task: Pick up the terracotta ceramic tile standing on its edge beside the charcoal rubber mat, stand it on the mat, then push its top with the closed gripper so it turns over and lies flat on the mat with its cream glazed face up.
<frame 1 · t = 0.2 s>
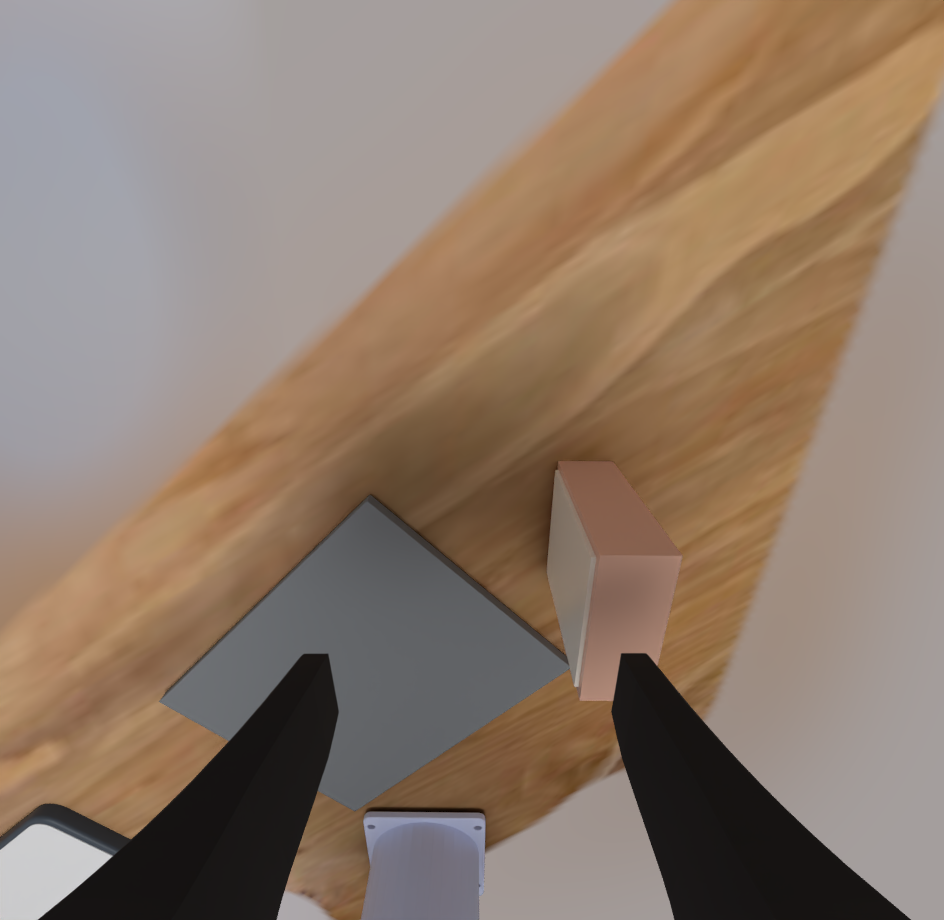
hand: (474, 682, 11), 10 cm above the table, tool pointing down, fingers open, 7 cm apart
tile: (578, 520, 20), on the table
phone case: (56, 859, 33), on the table
mat: (362, 675, 24), on the table
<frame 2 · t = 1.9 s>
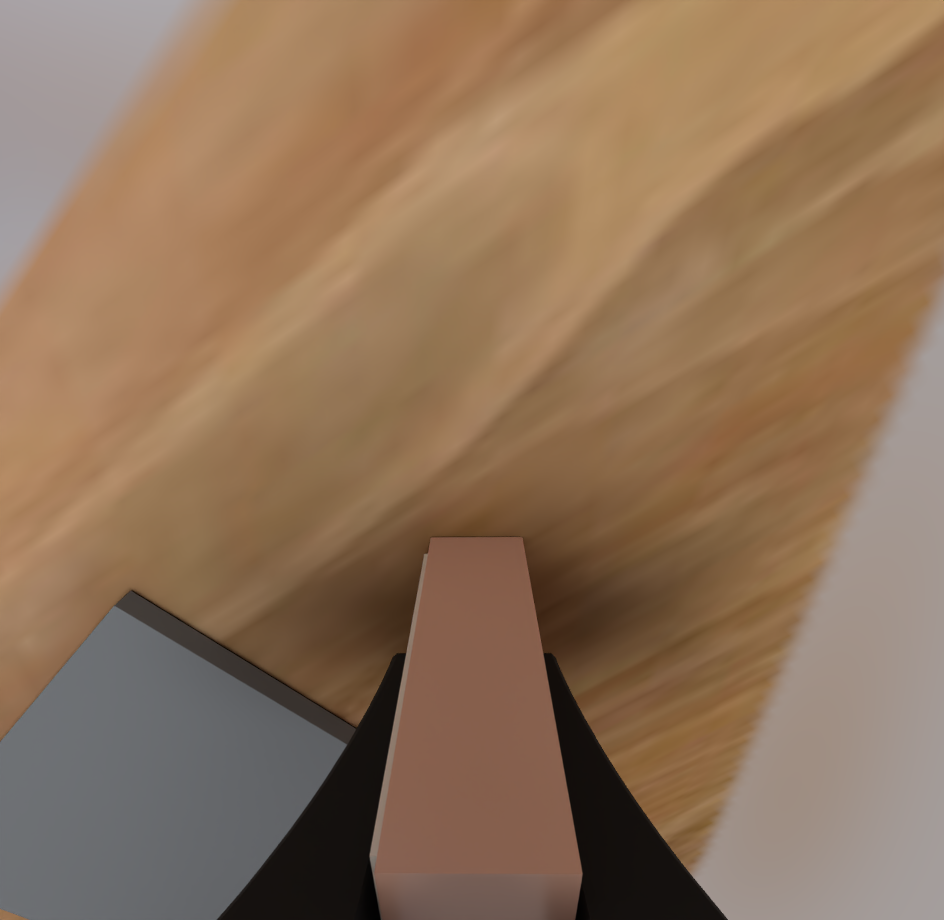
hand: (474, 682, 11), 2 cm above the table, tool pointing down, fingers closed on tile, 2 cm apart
tile: (477, 625, 13), on the table, touching gripper
mat: (187, 829, 17), on the table
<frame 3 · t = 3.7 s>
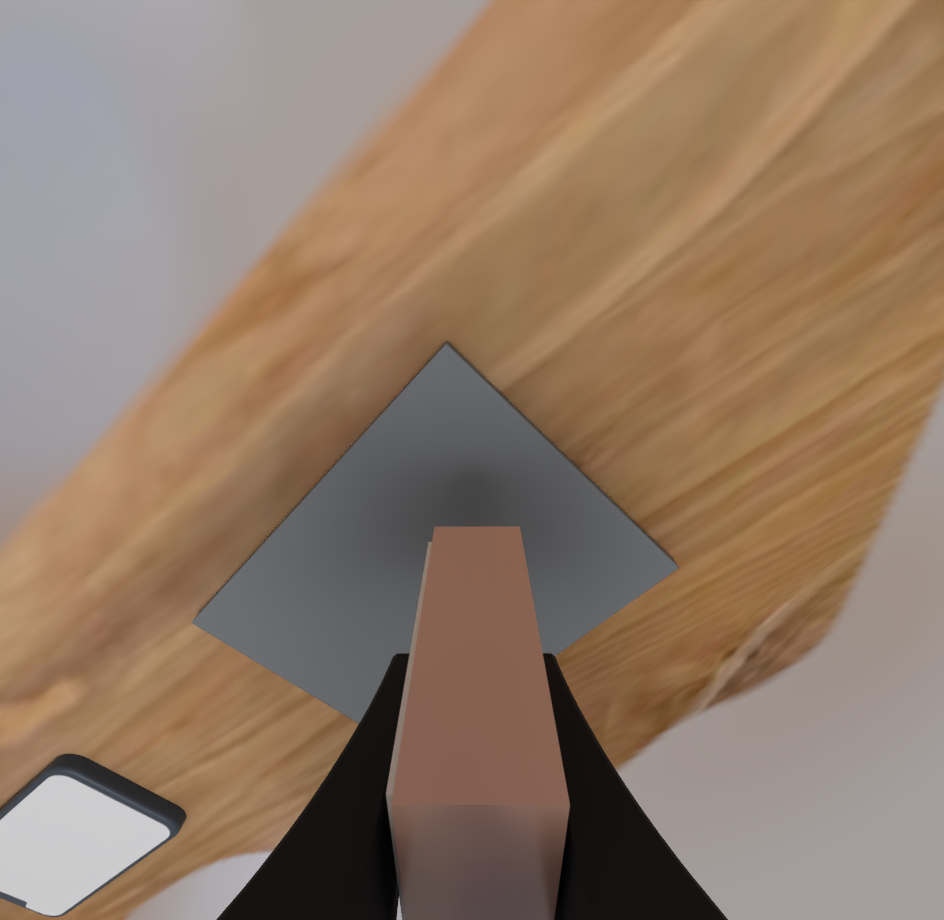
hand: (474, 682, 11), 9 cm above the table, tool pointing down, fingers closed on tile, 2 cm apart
tile: (477, 610, 13), point 6 cm above the table, touching gripper
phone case: (77, 822, 30), on the table
mat: (427, 587, 21), on the table
when the fingers open (3 cm above the table, at t = 5.6 s): tile stays where it is, resting on mat.
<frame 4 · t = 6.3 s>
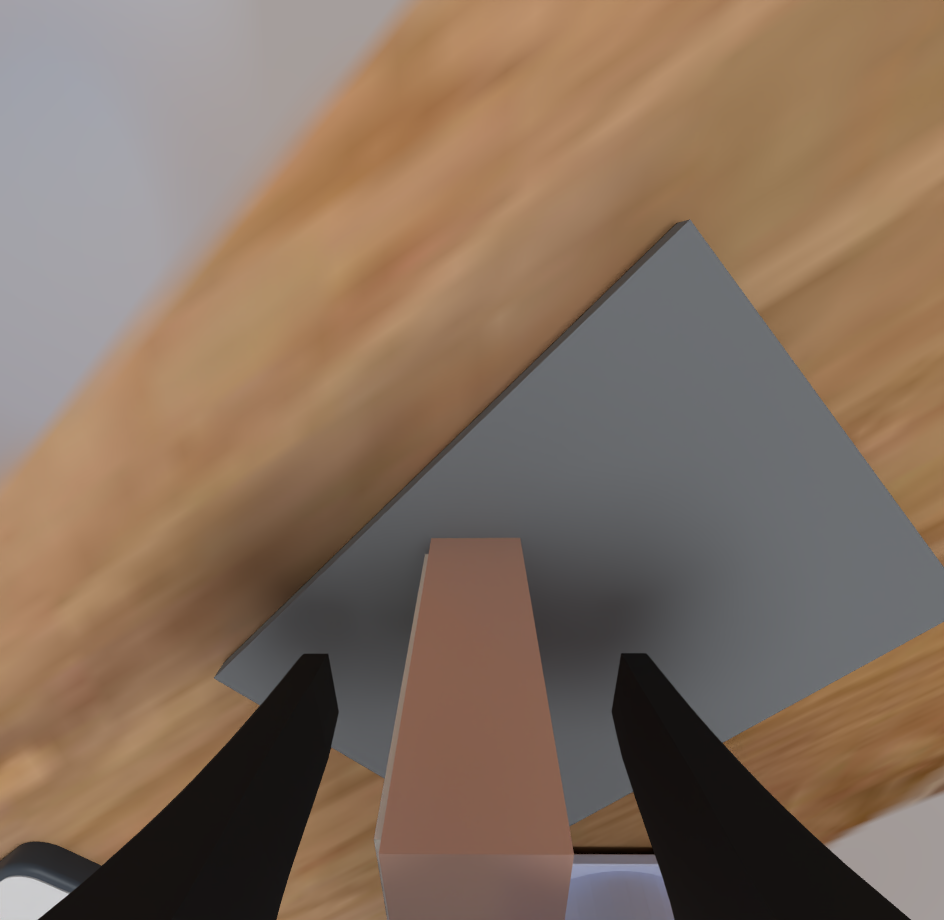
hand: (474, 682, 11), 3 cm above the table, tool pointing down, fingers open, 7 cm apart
tile: (476, 624, 13), point 1 cm above the table, touching mat
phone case: (49, 917, 22), on the table
mat: (569, 629, 14), on the table
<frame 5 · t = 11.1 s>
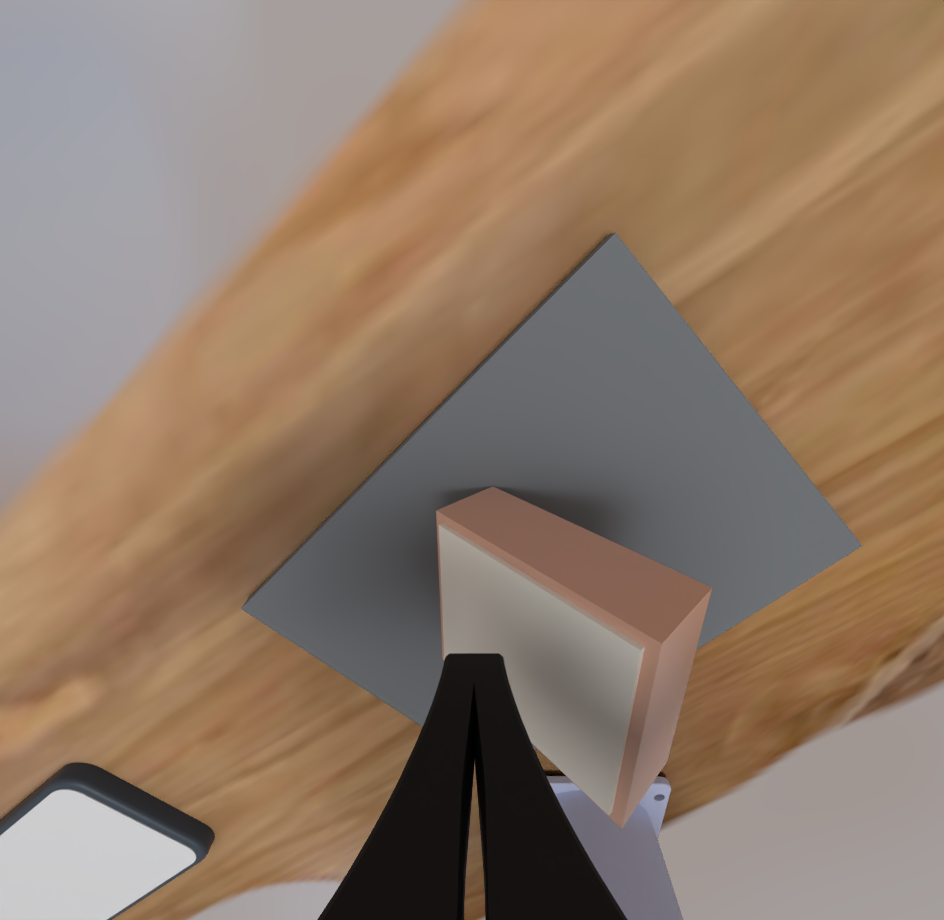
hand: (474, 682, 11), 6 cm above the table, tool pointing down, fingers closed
tile: (466, 575, 15), point 1 cm above the table, tilted 43°, touching mat
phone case: (84, 841, 25), on the table
mat: (537, 568, 17), on the table
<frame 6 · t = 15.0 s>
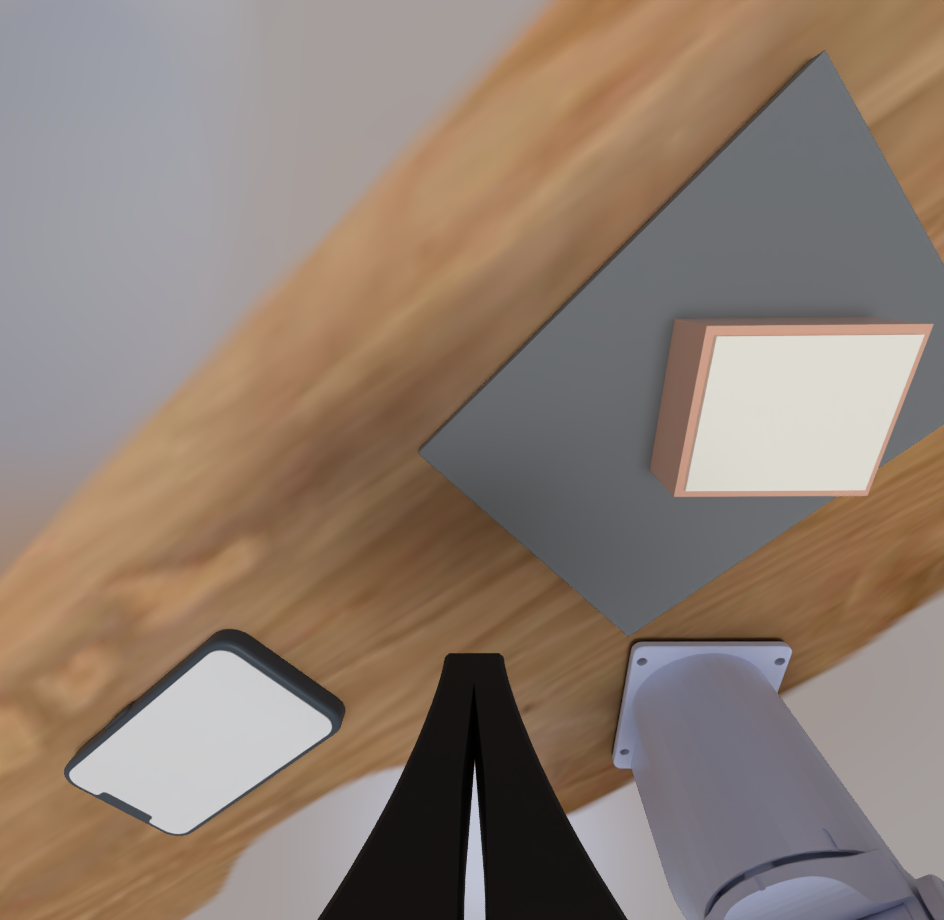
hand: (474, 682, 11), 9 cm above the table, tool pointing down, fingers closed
tile: (674, 408, 16), point 2 cm above the table, tilted 90°, touching mat
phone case: (213, 724, 26), on the table
mat: (694, 414, 18), on the table
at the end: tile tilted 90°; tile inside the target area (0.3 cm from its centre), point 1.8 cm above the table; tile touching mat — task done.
